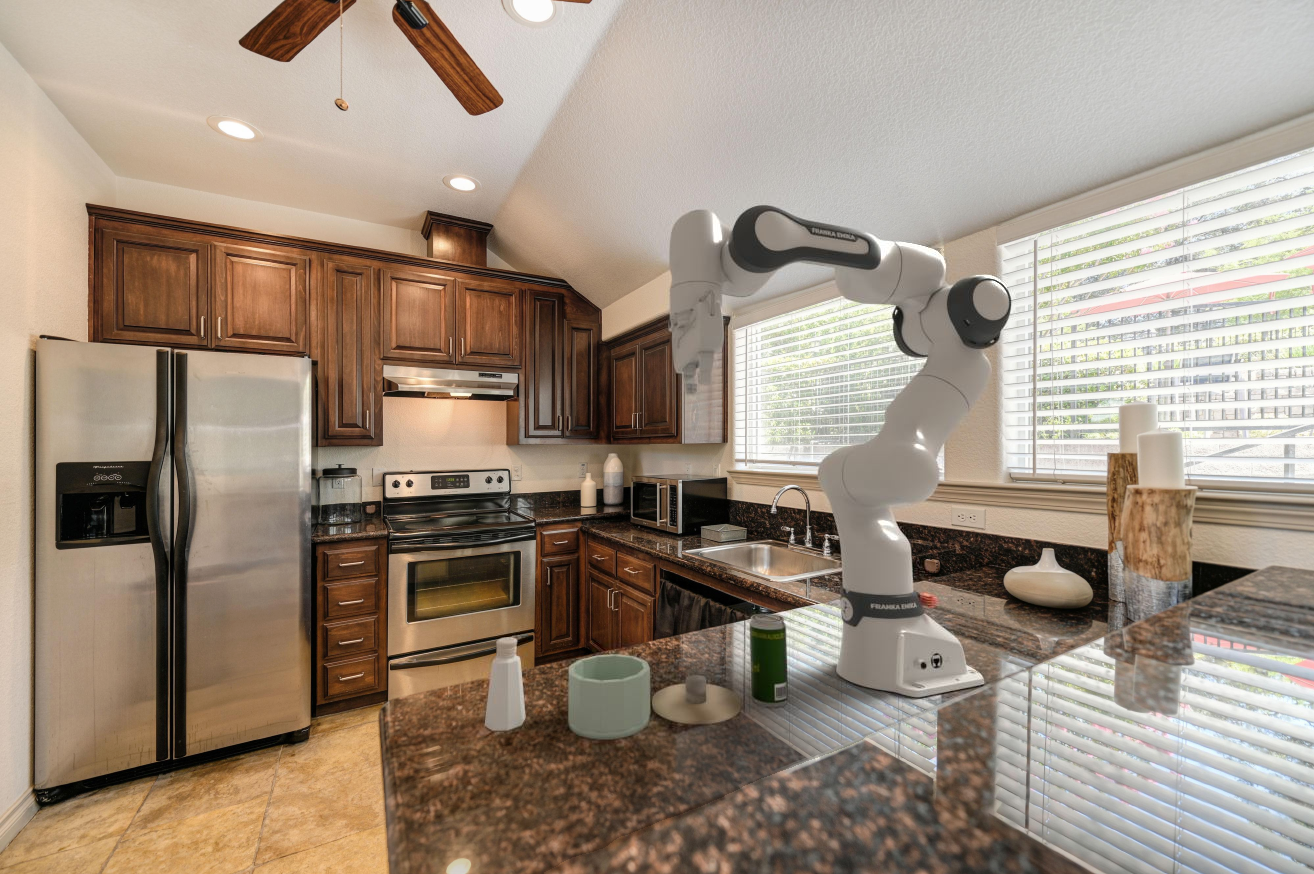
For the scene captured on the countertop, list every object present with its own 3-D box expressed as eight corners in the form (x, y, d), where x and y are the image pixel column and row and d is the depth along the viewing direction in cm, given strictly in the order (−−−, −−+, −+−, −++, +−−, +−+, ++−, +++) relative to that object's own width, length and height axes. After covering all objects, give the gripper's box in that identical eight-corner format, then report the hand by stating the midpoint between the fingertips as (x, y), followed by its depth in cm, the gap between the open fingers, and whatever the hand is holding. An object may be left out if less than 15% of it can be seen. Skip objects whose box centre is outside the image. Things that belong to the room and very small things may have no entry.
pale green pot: (643, 700, 78) (642, 652, 78) (655, 735, 67) (654, 678, 68) (568, 706, 76) (568, 657, 77) (568, 743, 65) (568, 685, 66)
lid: (725, 686, 84) (725, 661, 84) (753, 722, 71) (753, 692, 72) (646, 692, 82) (645, 666, 82) (660, 731, 69) (659, 699, 69)
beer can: (796, 701, 77) (793, 618, 78) (772, 711, 74) (770, 624, 75) (767, 690, 81) (764, 611, 82) (743, 700, 78) (741, 617, 79)
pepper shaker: (509, 734, 68) (510, 647, 69) (475, 727, 70) (477, 642, 71) (533, 717, 73) (534, 636, 74) (501, 711, 75) (503, 632, 76)
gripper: (733, 285, 78) (735, 376, 77) (699, 327, 98) (700, 399, 97) (692, 283, 77) (693, 375, 76) (666, 325, 97) (667, 399, 96)
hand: (697, 389), depth 86 cm, fingers open, 8 cm apart
